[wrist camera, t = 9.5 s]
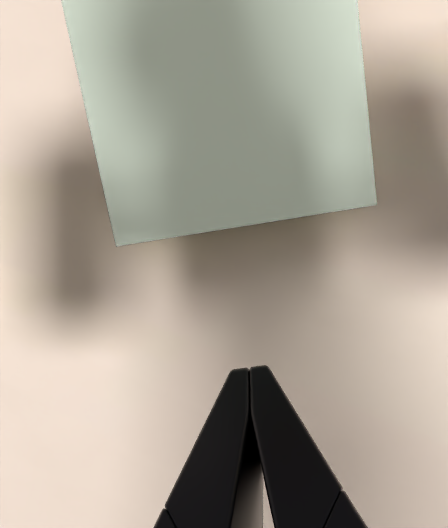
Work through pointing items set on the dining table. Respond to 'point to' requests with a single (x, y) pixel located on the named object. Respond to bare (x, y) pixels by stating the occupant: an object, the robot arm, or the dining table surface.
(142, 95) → the end tile
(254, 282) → the dining table surface
